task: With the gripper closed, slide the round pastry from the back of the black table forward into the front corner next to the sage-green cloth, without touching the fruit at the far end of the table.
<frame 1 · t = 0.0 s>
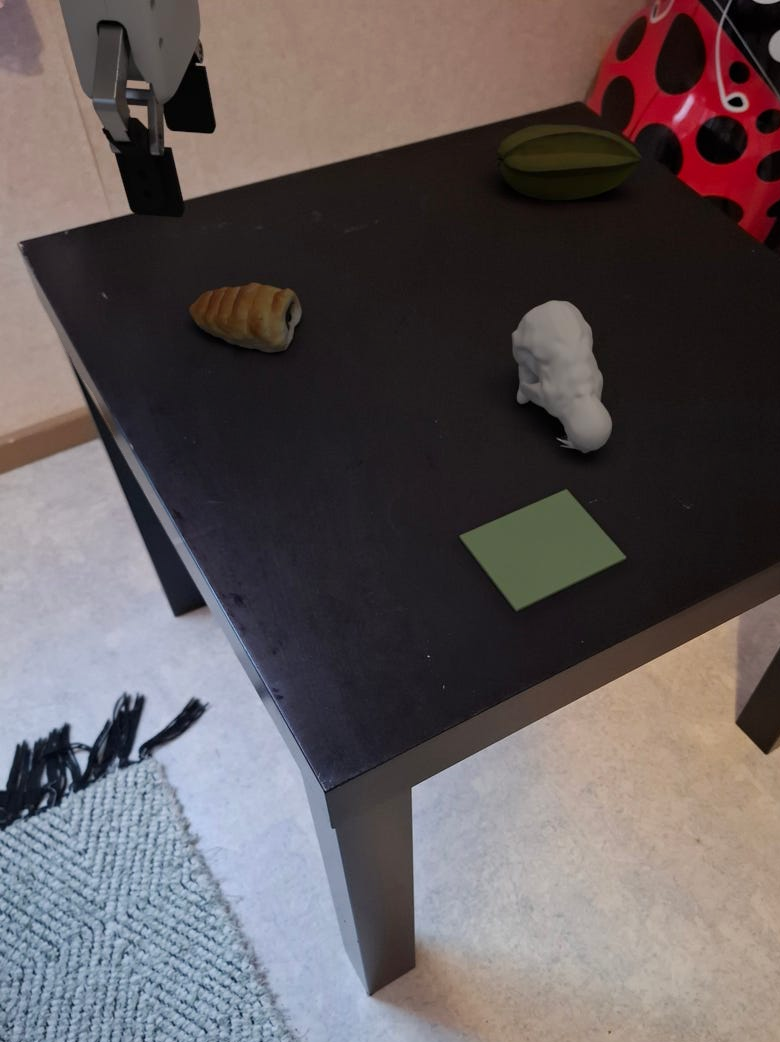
hand: (176, 169, 58), 21 cm above the table, tool pointing down, fingers open, 9 cm apart
grey lumpy elongated piece: (562, 420, 77), on the table
fruit: (561, 194, 97), on the table
cloth: (542, 548, 69), on the table
pastry: (254, 331, 82), on the table
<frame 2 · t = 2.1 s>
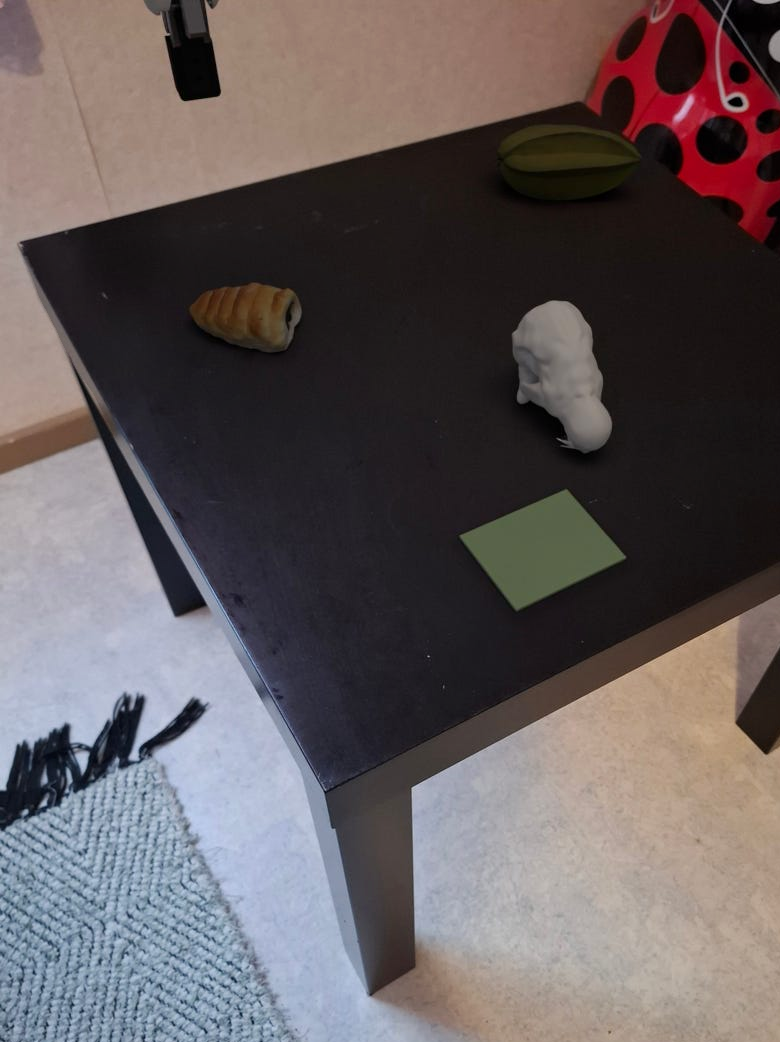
hand: (199, 93, 71), 17 cm above the table, tool pointing down, fingers closed
nothing on the table moved.
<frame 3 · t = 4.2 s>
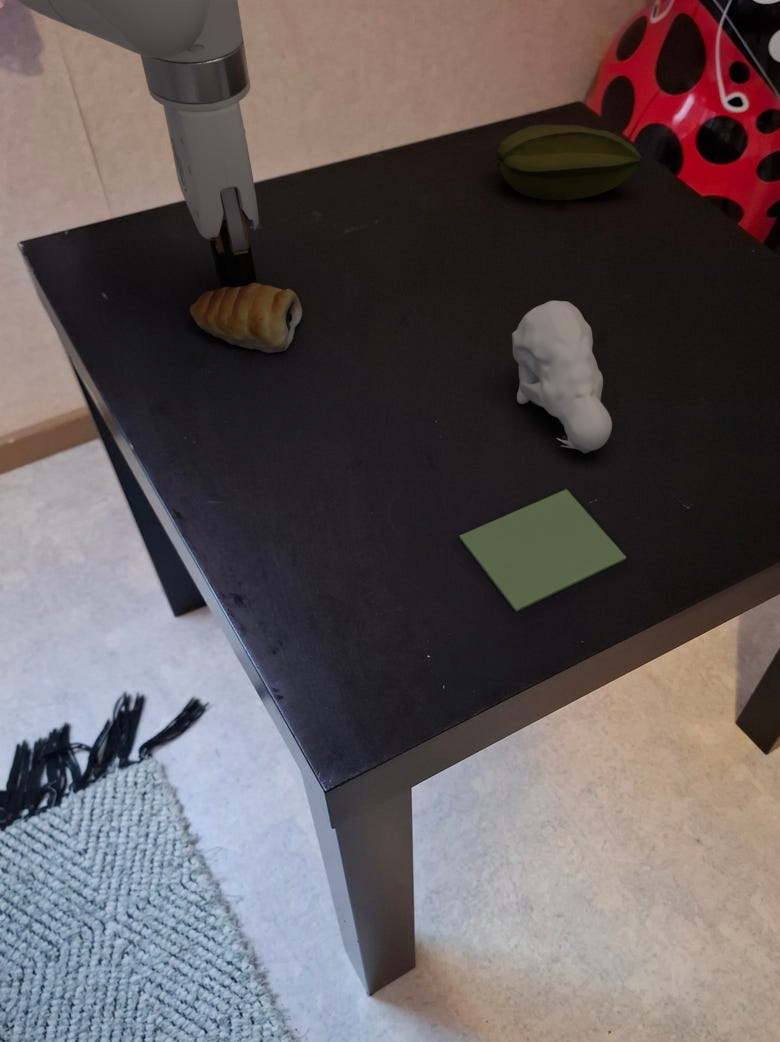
hand: (237, 282, 83), 1 cm above the table, tool pointing down, fingers closed
pastry: (254, 331, 82), on the table, touching gripper
everything else where it was.
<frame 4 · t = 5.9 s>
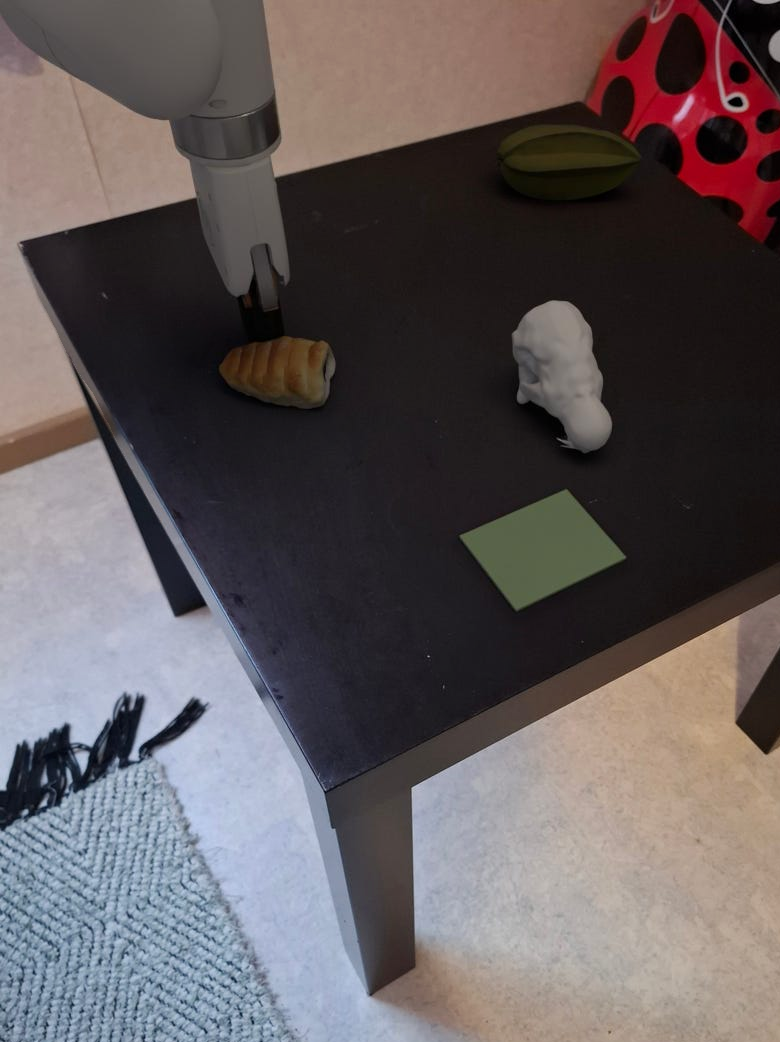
hand: (264, 334, 79), 2 cm above the table, tool pointing down, fingers closed
pastry: (287, 386, 78), on the table, touching gripper
everything else where it was.
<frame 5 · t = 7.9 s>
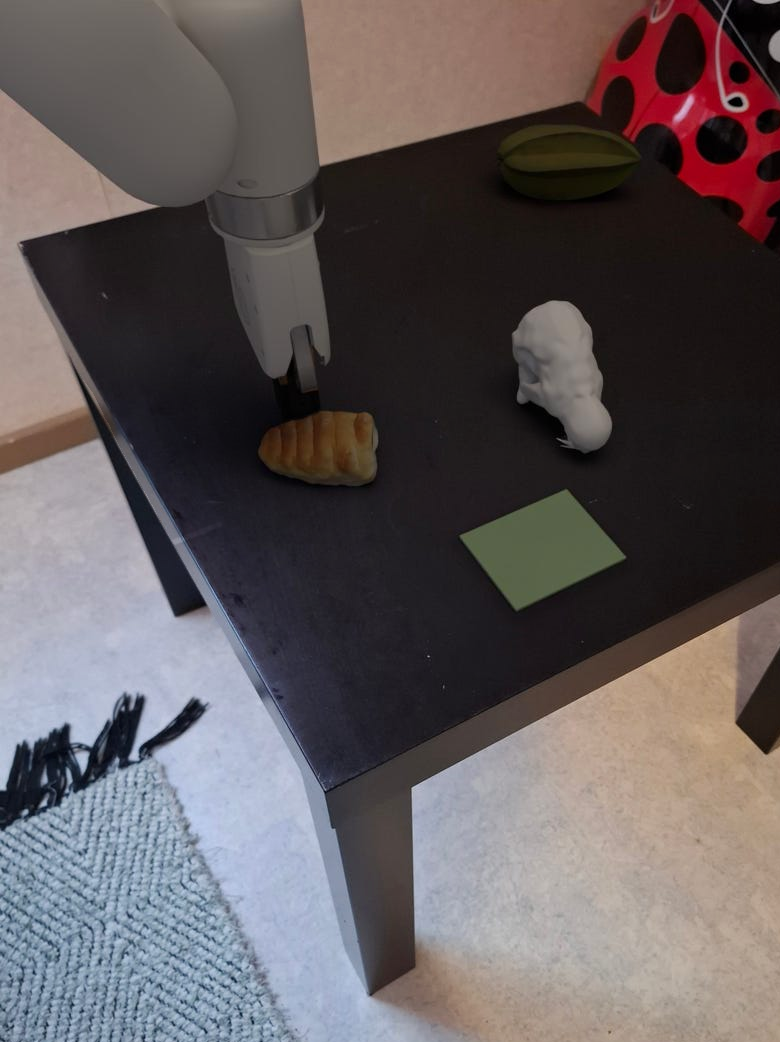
hand: (299, 408, 74), 2 cm above the table, tool pointing down, fingers closed
pastry: (329, 463, 73), on the table, touching gripper
everything else where it was.
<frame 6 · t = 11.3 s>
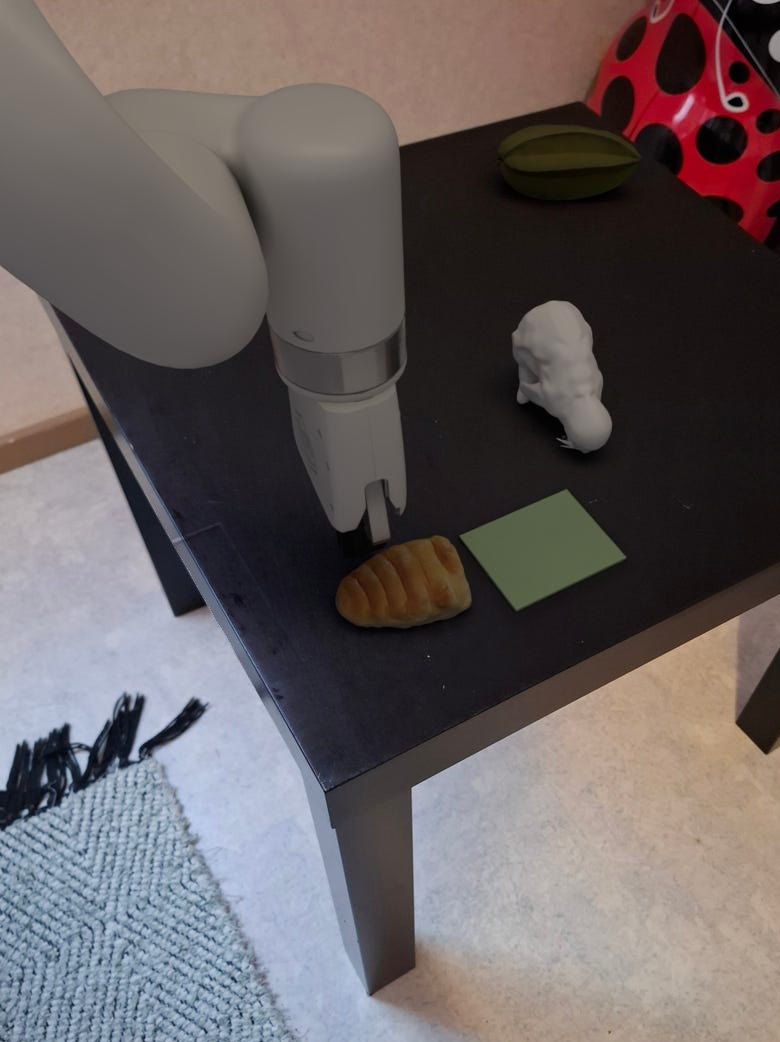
hand: (361, 545, 66), 2 cm above the table, tool pointing down, fingers closed
pastry: (410, 599, 66), on the table, touching gripper
everything else where it was.
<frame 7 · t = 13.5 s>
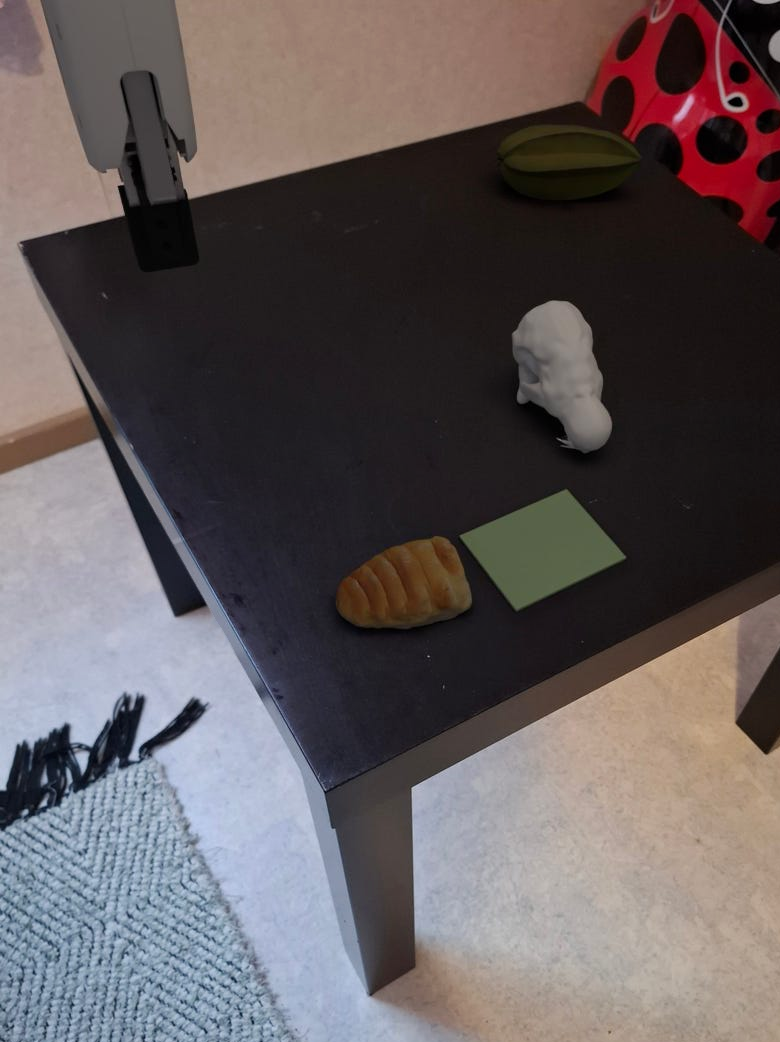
hand: (167, 259, 50), 23 cm above the table, tool pointing down, fingers closed
pastry: (410, 599, 66), on the table
everything else where it was.
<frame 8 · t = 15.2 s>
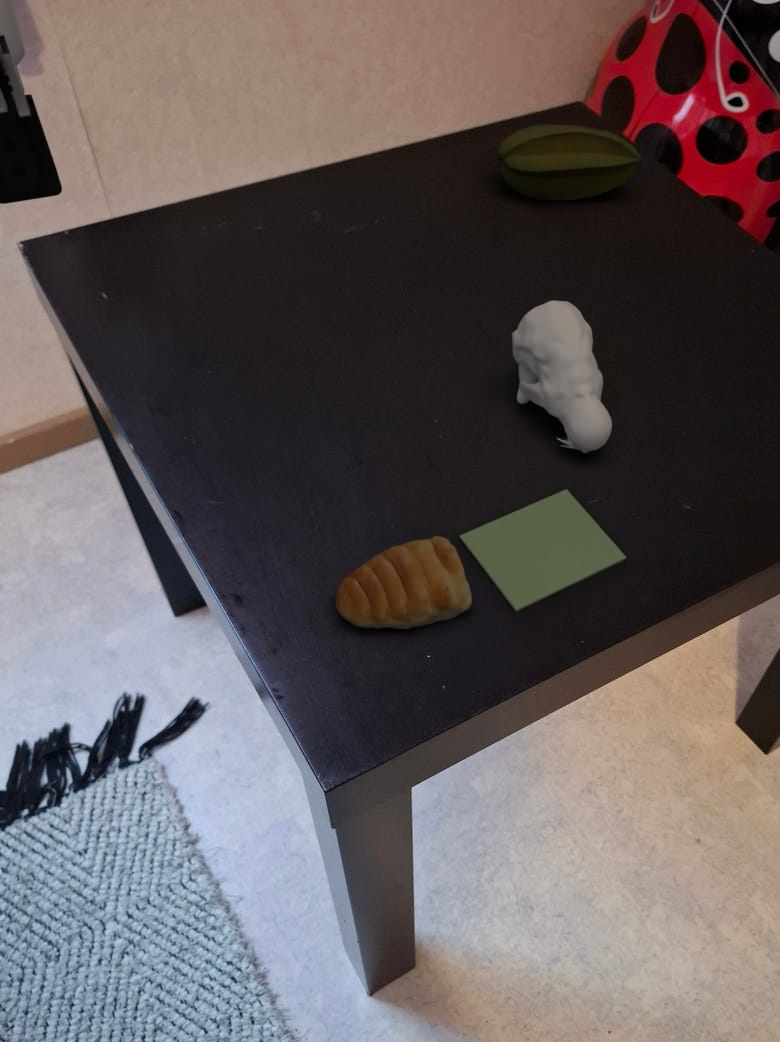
hand: (28, 190, 45), 27 cm above the table, tool pointing down, fingers closed
nothing on the table moved.
at the end: pastry inside the target area (2.9 cm from its centre), on the table; pastry 11.0 cm from the cloth (horizontally); pastry touching table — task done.
